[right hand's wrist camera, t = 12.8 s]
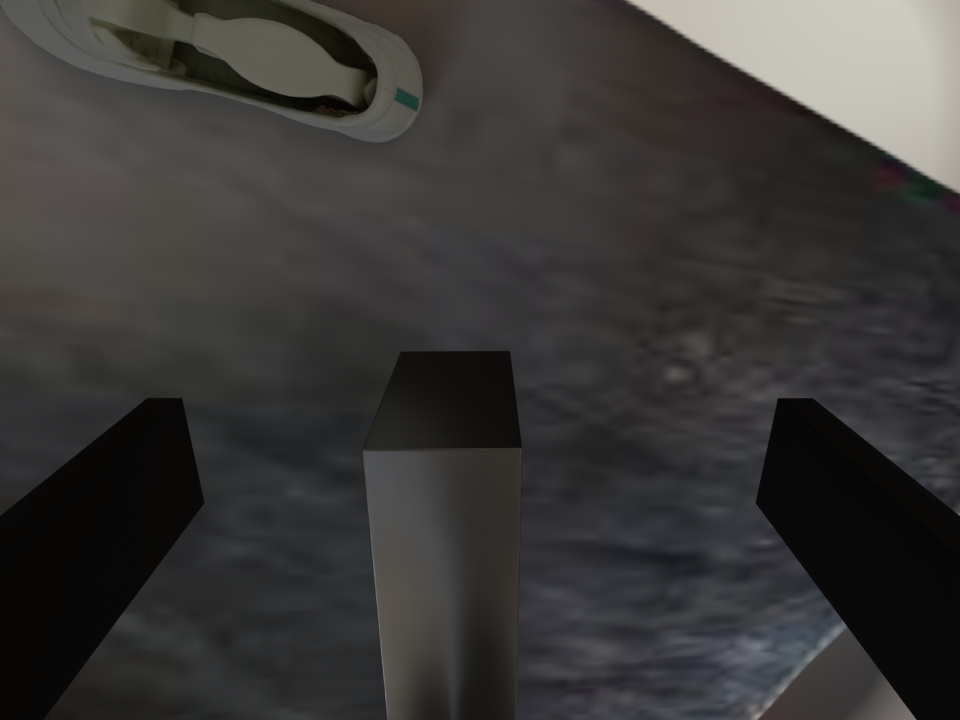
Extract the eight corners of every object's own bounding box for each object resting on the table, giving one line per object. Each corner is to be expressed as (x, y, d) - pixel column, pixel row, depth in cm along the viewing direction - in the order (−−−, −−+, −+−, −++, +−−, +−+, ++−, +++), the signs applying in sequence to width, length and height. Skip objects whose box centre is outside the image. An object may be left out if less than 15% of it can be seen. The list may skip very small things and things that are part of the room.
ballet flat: (13, -122, 31) (-132, -201, 24) (445, 25, 34) (434, -6, 26) (13, 45, 34) (-116, 20, 27) (410, 169, 37) (391, 178, 29)
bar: (400, 351, 26) (361, 449, 18) (510, 350, 26) (522, 448, 18) (424, 750, 36) (406, 936, 27) (505, 750, 36) (511, 936, 27)
